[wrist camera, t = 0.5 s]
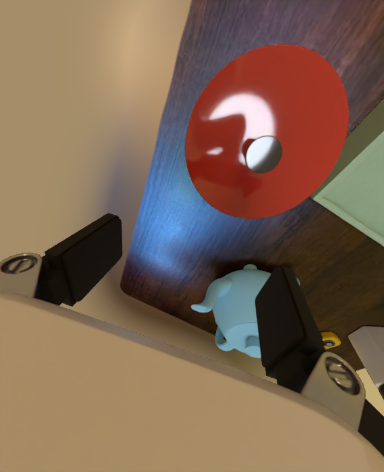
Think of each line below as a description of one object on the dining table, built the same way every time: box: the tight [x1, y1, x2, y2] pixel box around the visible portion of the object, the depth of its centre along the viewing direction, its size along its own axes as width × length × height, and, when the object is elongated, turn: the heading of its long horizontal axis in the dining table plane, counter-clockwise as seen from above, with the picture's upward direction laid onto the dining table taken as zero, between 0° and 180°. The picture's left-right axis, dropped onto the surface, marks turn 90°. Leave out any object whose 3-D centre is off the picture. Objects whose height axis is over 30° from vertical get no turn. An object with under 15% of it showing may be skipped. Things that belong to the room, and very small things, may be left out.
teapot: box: [191, 264, 300, 358], centre depth 32 cm, size 16×20×14 cm
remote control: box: [319, 331, 341, 350], centre depth 42 cm, size 5×2×15 cm
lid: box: [185, 44, 349, 219], centre depth 14 cm, size 14×14×6 cm
